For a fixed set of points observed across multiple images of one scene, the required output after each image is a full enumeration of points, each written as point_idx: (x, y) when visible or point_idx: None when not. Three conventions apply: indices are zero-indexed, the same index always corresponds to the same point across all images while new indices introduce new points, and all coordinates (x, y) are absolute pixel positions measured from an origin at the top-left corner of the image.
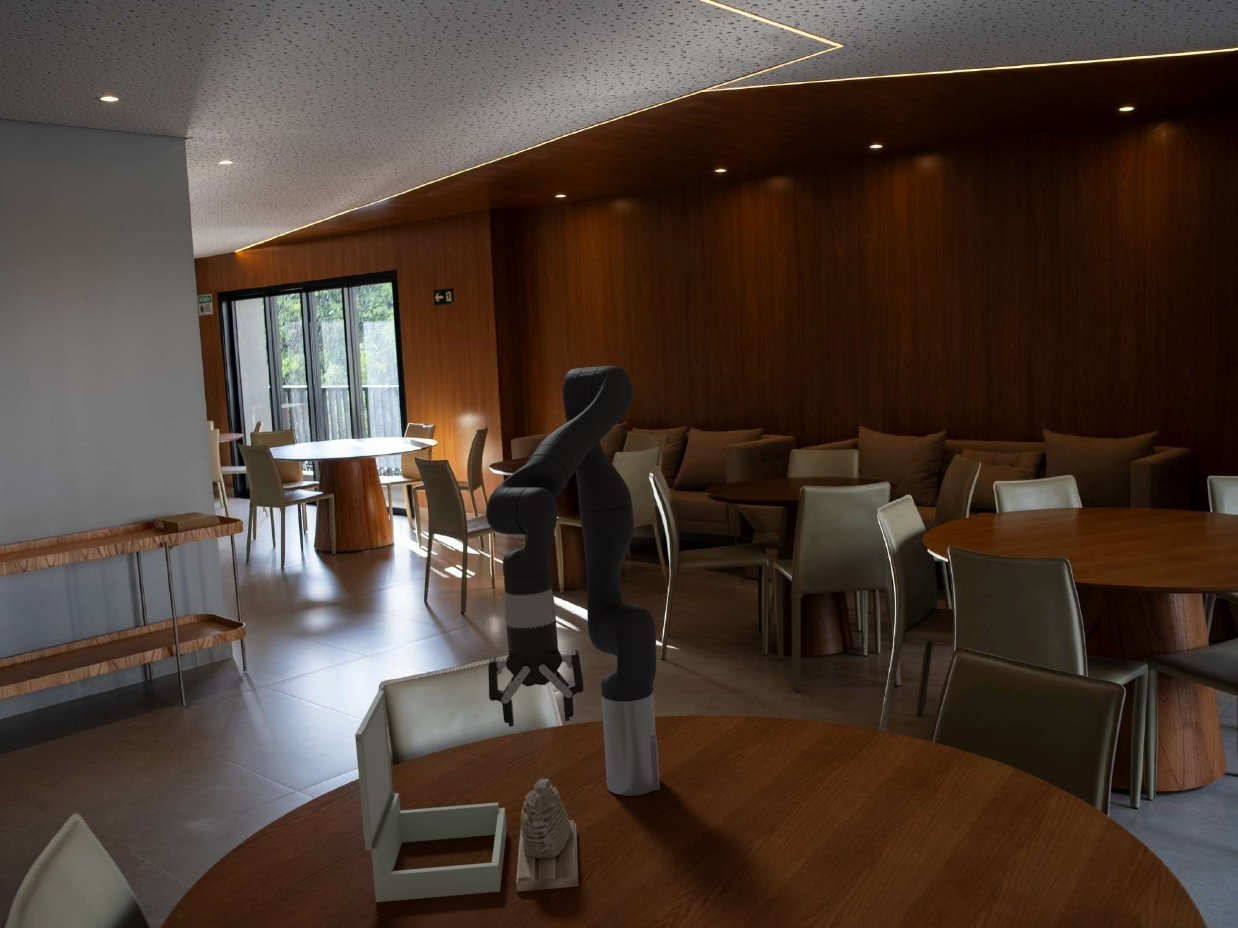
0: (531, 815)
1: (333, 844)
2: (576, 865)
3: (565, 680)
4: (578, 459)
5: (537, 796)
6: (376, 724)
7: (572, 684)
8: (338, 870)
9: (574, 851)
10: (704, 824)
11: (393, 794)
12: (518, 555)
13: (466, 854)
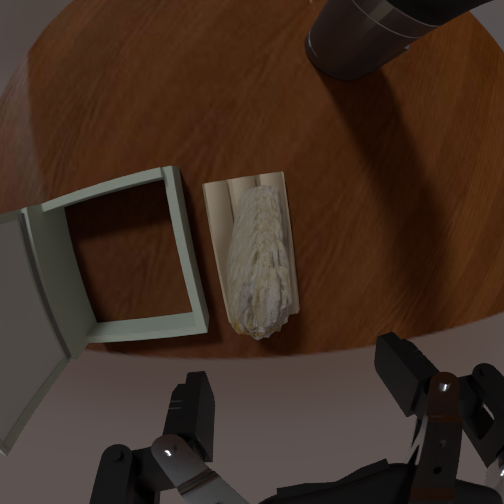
0: (251, 335)
1: None
2: (296, 287)
3: (457, 409)
4: None
5: (263, 332)
6: None
7: (464, 404)
8: None
9: (293, 264)
10: (421, 169)
11: (23, 221)
12: None
13: (142, 234)
